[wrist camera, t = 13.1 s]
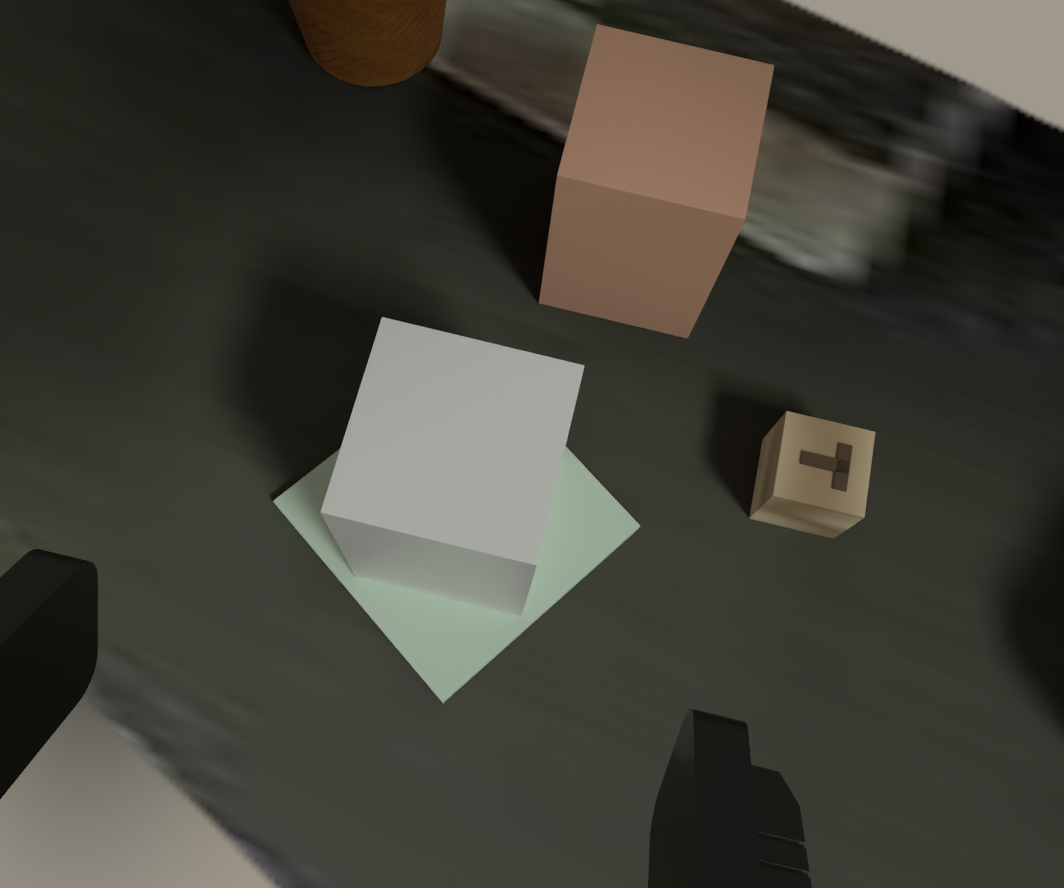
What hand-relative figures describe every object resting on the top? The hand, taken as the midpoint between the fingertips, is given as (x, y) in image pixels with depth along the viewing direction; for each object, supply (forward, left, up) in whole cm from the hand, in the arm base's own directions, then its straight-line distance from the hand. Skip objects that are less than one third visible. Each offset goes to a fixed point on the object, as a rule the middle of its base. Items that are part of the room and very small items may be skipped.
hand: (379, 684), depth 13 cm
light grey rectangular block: (+6, -6, -24) cm, 26 cm away
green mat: (+6, -6, -24) cm, 26 cm away
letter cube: (-2, -17, -25) cm, 30 cm away
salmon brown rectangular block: (+10, -19, -24) cm, 33 cm away
